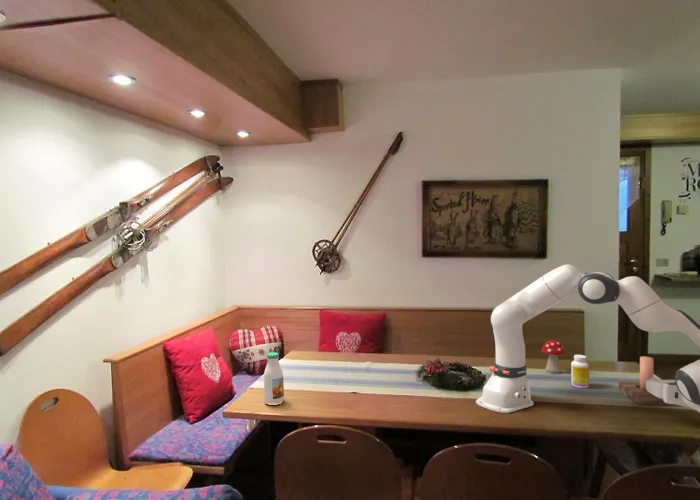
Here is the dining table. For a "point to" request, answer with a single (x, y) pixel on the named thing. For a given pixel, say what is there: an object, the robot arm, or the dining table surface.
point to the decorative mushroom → (553, 356)
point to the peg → (645, 371)
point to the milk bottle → (273, 380)
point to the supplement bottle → (580, 372)
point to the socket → (640, 394)
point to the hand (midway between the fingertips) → (664, 379)
